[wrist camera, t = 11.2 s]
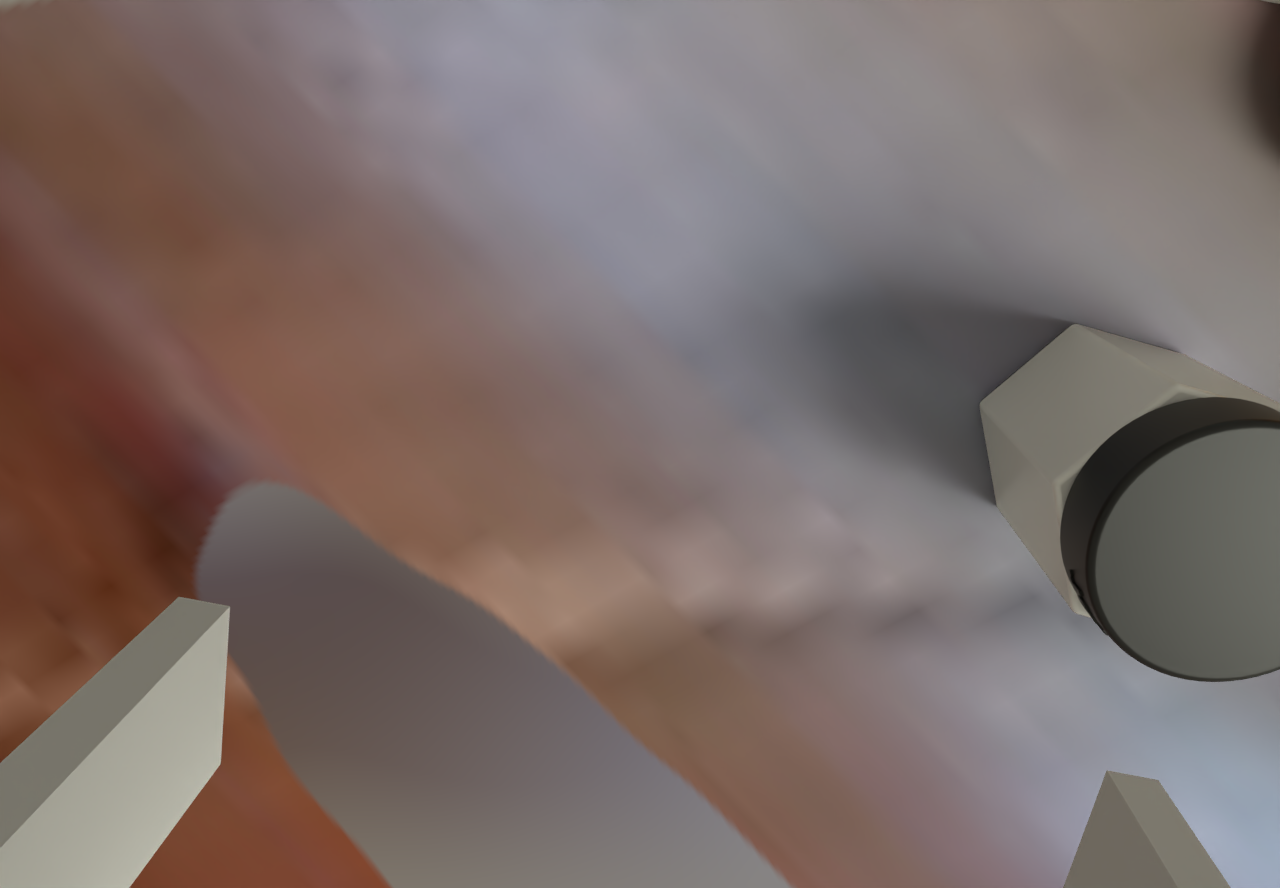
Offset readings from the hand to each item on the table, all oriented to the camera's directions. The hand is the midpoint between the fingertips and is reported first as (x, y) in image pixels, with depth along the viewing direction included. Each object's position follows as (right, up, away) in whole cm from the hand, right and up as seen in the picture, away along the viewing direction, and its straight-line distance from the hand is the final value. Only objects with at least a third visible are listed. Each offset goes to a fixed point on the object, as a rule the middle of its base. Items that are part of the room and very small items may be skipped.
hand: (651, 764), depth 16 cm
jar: (+17, +5, +26) cm, 31 cm away
